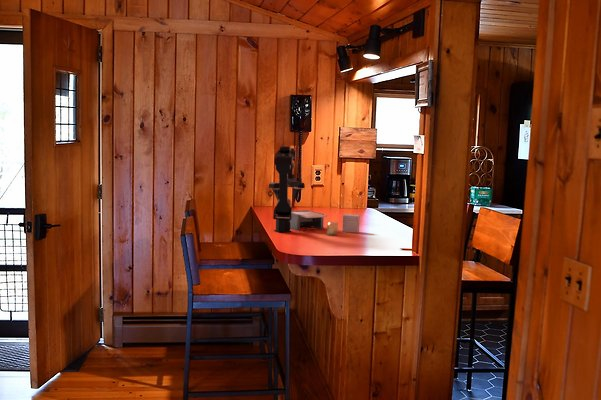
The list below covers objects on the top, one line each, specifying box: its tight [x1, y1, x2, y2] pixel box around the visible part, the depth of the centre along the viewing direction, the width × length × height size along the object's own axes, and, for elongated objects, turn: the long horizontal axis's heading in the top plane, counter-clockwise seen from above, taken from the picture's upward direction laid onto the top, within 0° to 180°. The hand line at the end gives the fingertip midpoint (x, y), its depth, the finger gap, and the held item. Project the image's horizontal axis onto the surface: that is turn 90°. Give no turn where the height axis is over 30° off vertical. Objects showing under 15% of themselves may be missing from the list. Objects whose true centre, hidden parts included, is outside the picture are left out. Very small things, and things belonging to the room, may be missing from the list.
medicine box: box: [341, 213, 360, 234], centre depth 335 cm, size 8×4×9 cm, turn 74°
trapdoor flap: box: [292, 211, 328, 222], centre depth 340 cm, size 12×18×5 cm
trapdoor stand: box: [289, 209, 325, 231], centre depth 344 cm, size 16×15×8 cm
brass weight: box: [326, 221, 339, 237], centre depth 323 cm, size 5×5×6 cm
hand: (286, 201), depth 344 cm, fingers open, 9 cm apart
